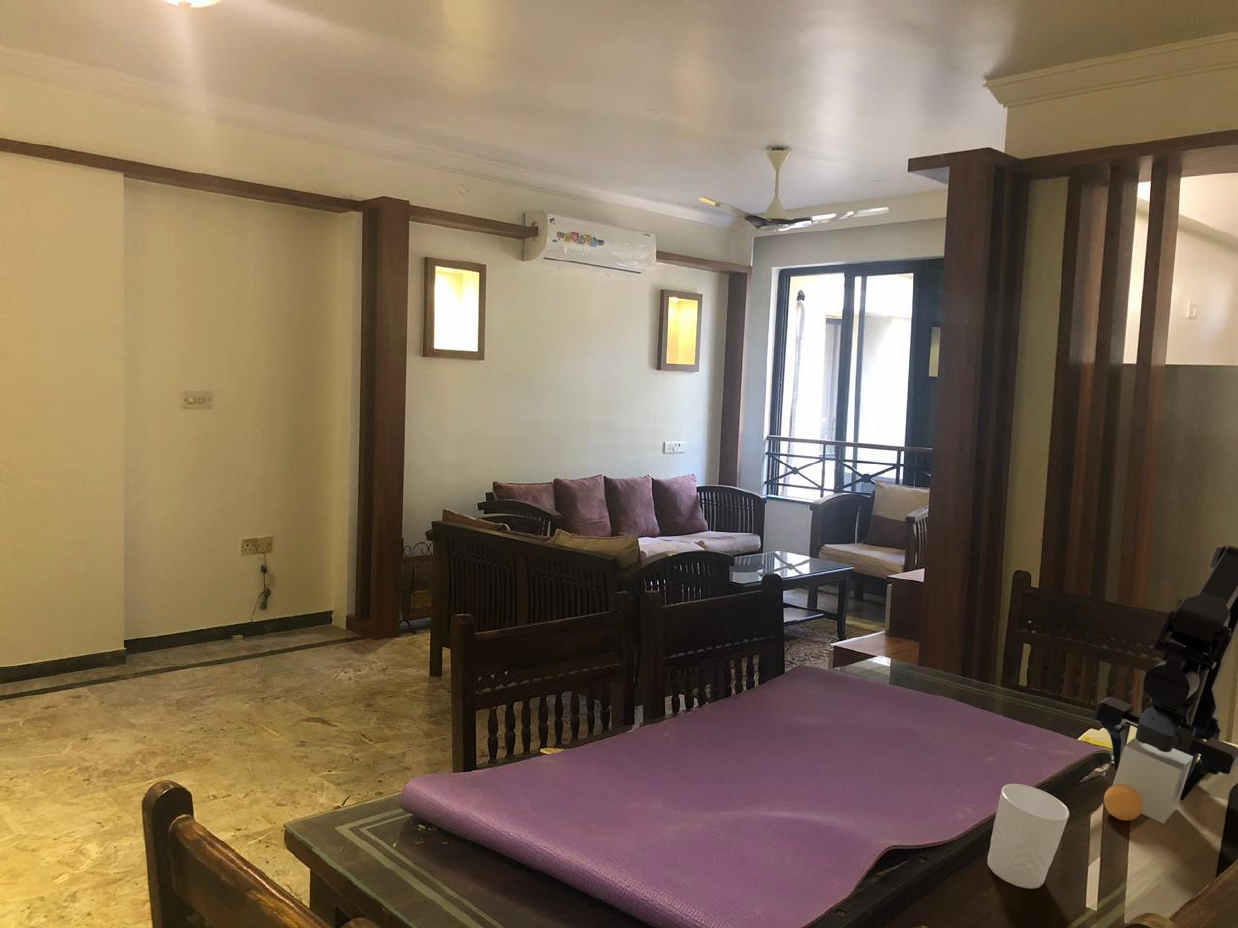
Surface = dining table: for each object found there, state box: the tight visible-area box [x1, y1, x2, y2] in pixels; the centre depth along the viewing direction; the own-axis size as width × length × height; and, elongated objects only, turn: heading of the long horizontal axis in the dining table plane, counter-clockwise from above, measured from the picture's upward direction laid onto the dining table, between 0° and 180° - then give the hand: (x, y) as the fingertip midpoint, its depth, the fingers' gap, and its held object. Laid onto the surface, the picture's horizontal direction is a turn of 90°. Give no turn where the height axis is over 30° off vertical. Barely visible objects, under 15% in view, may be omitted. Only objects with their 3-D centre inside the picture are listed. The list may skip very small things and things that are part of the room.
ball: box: [1103, 784, 1143, 822], centre depth 138 cm, size 5×5×5 cm
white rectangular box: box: [1112, 737, 1193, 825], centre depth 144 cm, size 8×8×9 cm
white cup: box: [987, 783, 1070, 889], centre depth 118 cm, size 8×8×10 cm
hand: (1148, 784), depth 144 cm, fingers open, 9 cm apart
